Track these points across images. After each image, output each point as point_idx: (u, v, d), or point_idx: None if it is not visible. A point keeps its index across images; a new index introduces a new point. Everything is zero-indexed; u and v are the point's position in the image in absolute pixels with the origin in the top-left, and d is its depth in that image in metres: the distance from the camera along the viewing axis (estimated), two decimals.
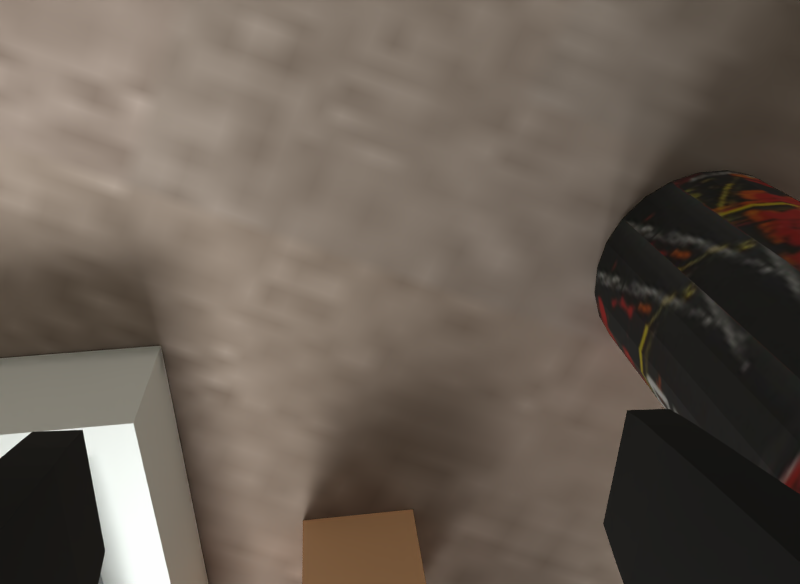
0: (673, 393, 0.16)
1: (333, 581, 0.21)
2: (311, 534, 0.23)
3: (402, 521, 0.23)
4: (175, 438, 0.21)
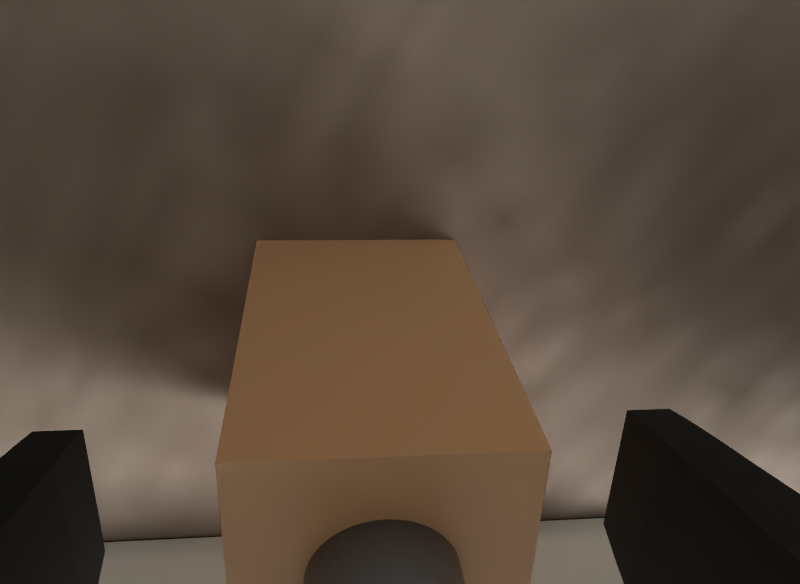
0: None
1: None
2: None
3: None
4: None
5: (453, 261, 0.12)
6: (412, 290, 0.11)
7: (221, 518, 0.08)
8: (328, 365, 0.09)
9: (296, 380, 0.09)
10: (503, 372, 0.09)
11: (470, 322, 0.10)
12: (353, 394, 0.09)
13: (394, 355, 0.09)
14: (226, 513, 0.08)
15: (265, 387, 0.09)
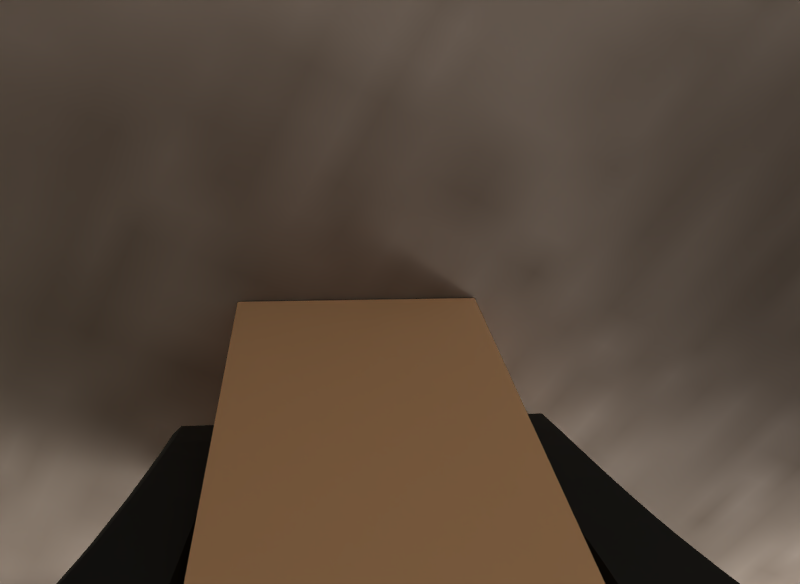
0: None
1: None
2: None
3: None
4: None
5: (475, 328, 0.10)
6: (427, 374, 0.09)
7: None
8: (325, 495, 0.07)
9: (282, 522, 0.07)
10: (552, 504, 0.07)
11: (504, 422, 0.08)
12: (357, 546, 0.06)
13: (410, 478, 0.07)
14: None
15: (239, 537, 0.06)
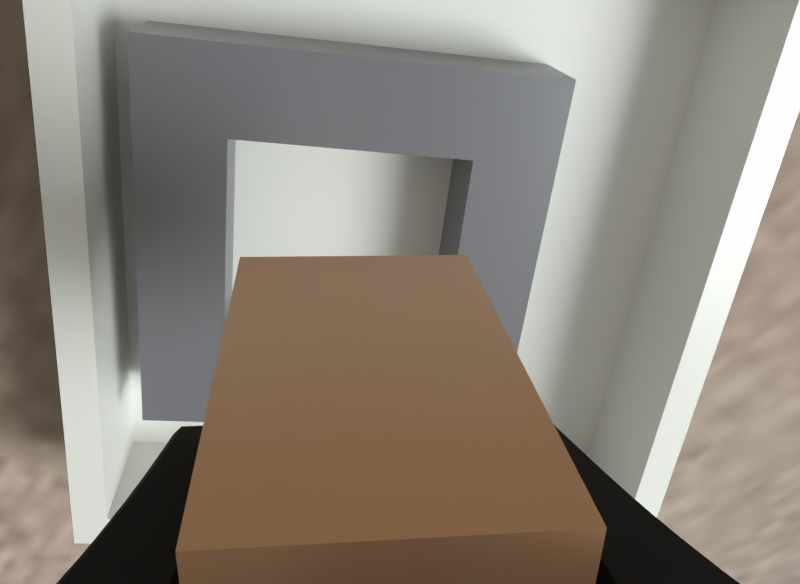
0: None
1: None
2: None
3: None
4: None
5: (467, 280, 0.11)
6: (420, 316, 0.09)
7: None
8: (322, 412, 0.07)
9: (282, 433, 0.07)
10: (536, 419, 0.07)
11: (491, 354, 0.09)
12: (352, 451, 0.07)
13: (401, 399, 0.08)
14: None
15: (243, 443, 0.07)
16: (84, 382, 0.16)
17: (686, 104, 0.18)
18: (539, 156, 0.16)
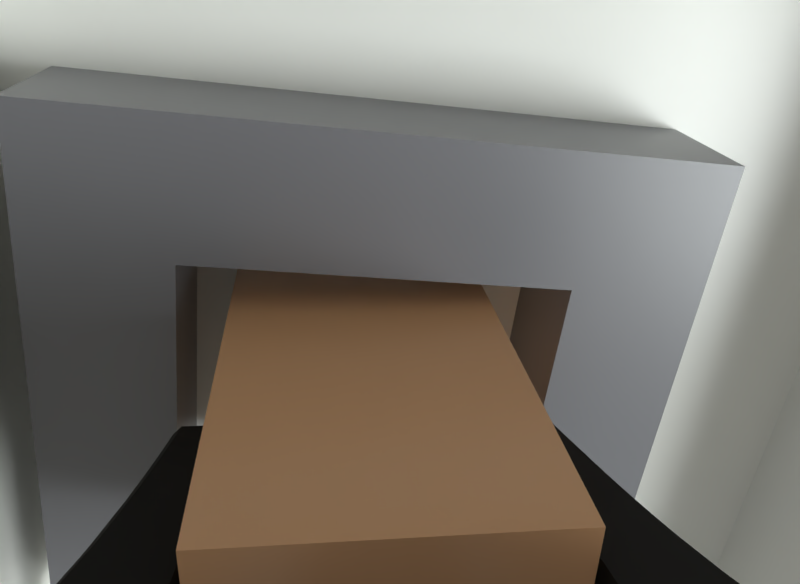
0: None
1: None
2: None
3: None
4: None
5: None
6: (419, 316, 0.10)
7: None
8: (323, 411, 0.07)
9: (282, 433, 0.07)
10: (535, 419, 0.07)
11: (491, 354, 0.09)
12: (353, 451, 0.07)
13: (401, 398, 0.08)
14: None
15: (244, 444, 0.07)
16: None
17: None
18: (675, 282, 0.10)
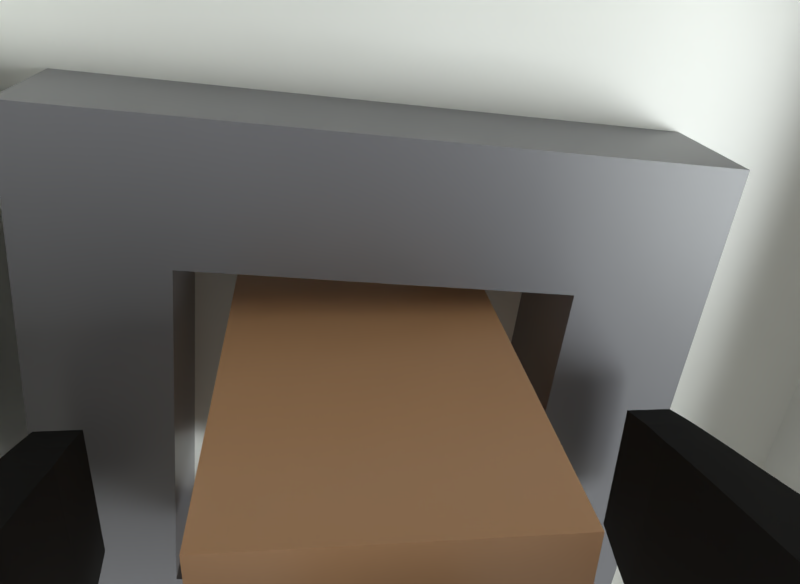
0: None
1: None
2: None
3: None
4: None
5: None
6: (420, 317, 0.10)
7: None
8: (324, 414, 0.08)
9: (284, 436, 0.07)
10: (535, 422, 0.08)
11: (492, 356, 0.09)
12: (354, 454, 0.07)
13: (402, 401, 0.08)
14: None
15: (244, 447, 0.07)
16: None
17: None
18: (679, 287, 0.10)
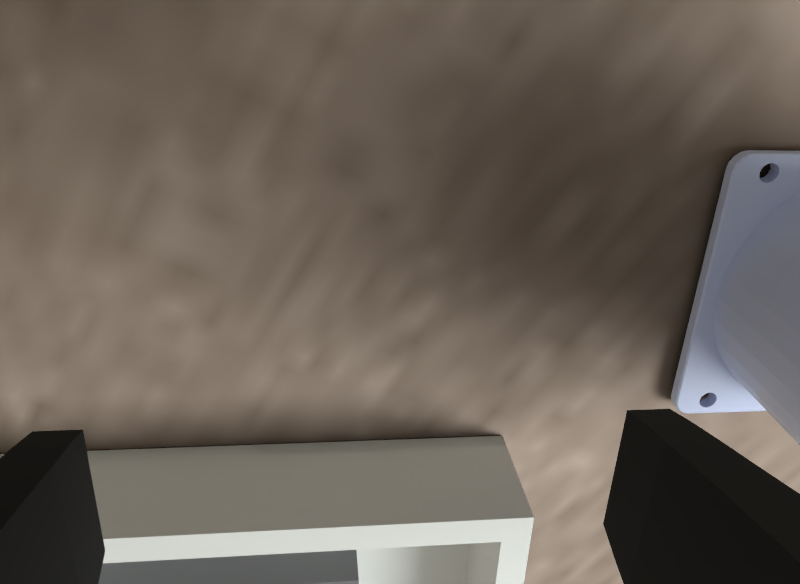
0: None
1: None
2: None
3: None
4: None
5: None
6: None
7: None
8: None
9: None
10: None
11: None
12: None
13: None
14: None
15: None
16: None
17: None
18: None
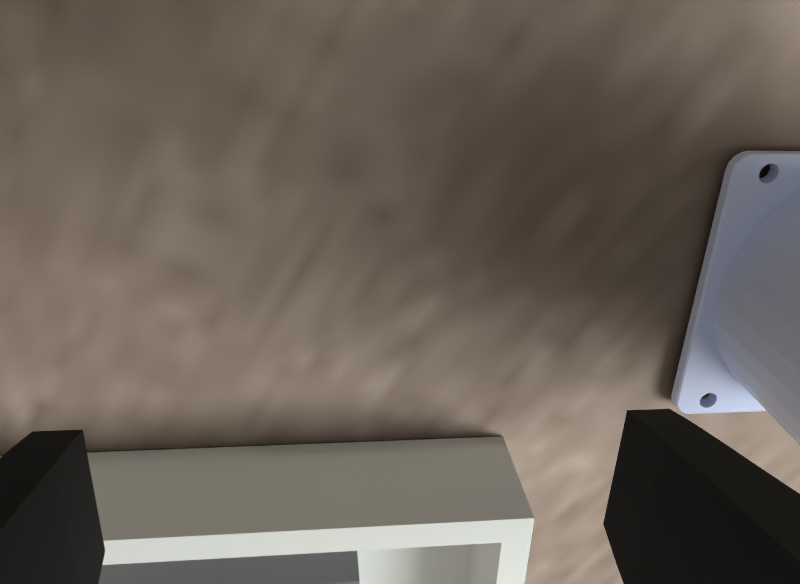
0: None
1: None
2: None
3: None
4: None
5: None
6: None
7: None
8: None
9: None
10: None
11: None
12: None
13: None
14: None
15: None
16: None
17: None
18: None
